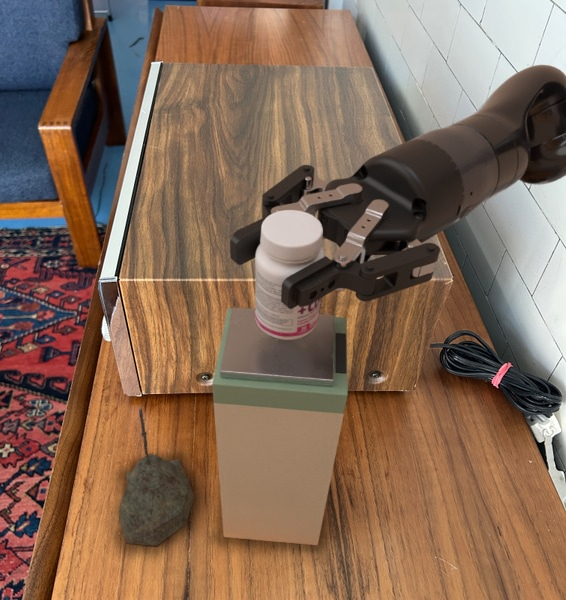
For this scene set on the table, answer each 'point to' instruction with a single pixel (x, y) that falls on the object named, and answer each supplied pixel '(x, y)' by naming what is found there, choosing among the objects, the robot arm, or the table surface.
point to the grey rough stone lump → (154, 499)
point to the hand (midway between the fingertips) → (259, 272)
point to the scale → (282, 366)
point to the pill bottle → (285, 272)
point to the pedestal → (275, 471)
